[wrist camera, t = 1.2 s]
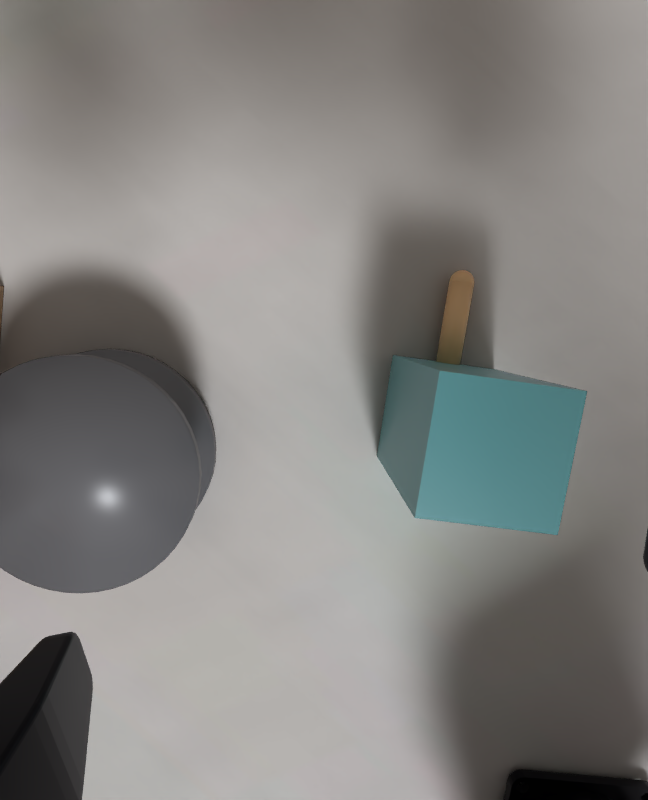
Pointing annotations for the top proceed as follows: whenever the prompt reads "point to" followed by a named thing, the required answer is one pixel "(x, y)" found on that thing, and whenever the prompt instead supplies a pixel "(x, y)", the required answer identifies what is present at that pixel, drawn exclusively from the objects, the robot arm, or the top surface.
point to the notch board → (1, 304)
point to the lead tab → (477, 435)
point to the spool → (98, 467)
